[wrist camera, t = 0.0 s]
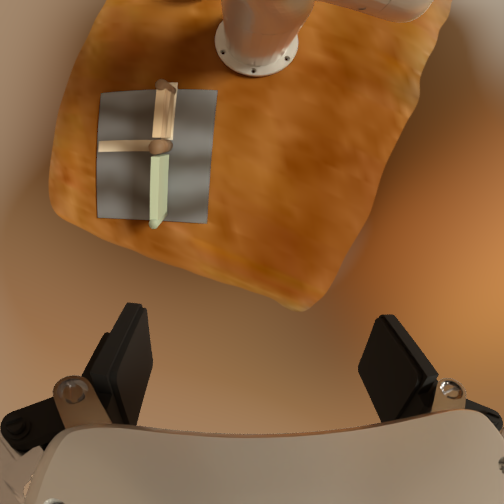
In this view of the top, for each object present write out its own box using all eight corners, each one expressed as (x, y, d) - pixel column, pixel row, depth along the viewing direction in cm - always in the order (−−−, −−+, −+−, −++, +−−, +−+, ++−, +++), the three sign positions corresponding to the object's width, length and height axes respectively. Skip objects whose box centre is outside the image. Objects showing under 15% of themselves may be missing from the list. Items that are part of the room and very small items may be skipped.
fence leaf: (161, 154, 42) (150, 156, 36) (170, 154, 42) (160, 156, 36) (159, 217, 45) (148, 228, 40) (167, 217, 46) (158, 229, 40)
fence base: (102, 87, 37) (83, 81, 31) (218, 84, 39) (215, 74, 33) (98, 216, 45) (80, 229, 39) (207, 222, 47) (202, 236, 41)
